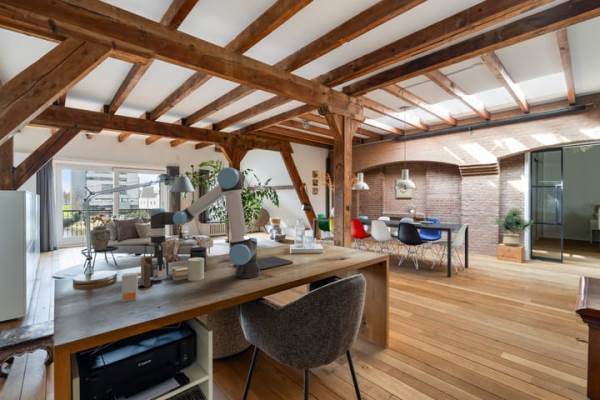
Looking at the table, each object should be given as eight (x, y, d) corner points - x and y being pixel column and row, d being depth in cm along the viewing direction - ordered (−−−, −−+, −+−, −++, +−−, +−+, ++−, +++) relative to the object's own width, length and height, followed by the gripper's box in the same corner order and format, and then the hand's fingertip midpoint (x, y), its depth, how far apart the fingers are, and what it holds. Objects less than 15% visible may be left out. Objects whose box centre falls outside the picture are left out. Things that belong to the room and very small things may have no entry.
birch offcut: (189, 273, 167) (189, 268, 167) (177, 275, 162) (177, 270, 162) (183, 270, 174) (183, 265, 174) (171, 272, 169) (171, 267, 169)
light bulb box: (166, 278, 158) (166, 259, 158) (153, 280, 154) (152, 261, 154) (164, 274, 167) (164, 256, 167) (151, 276, 163) (151, 257, 163)
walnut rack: (174, 282, 157) (174, 261, 156) (144, 287, 148) (144, 265, 148) (168, 273, 175) (168, 254, 175) (141, 277, 167) (140, 257, 167)
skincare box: (121, 302, 128) (121, 276, 128) (123, 299, 132) (122, 273, 132) (136, 300, 130) (136, 274, 130) (138, 297, 134) (137, 272, 134)
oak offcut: (188, 279, 166) (188, 274, 166) (174, 281, 162) (174, 276, 162) (185, 275, 174) (185, 270, 174) (171, 277, 170) (171, 272, 170)
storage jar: (209, 269, 185) (208, 247, 184) (202, 274, 175) (202, 250, 175) (194, 269, 186) (194, 246, 185) (187, 273, 176) (187, 249, 176)
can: (198, 281, 159) (198, 260, 159) (184, 280, 161) (184, 259, 161) (207, 276, 168) (207, 256, 168) (193, 276, 170) (193, 256, 170)
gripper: (148, 234, 168) (149, 270, 168) (153, 238, 149) (154, 280, 149) (162, 233, 172) (163, 268, 172) (168, 237, 153) (169, 277, 153)
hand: (158, 274), depth 161 cm, fingers closed on light bulb box, 11 cm apart
